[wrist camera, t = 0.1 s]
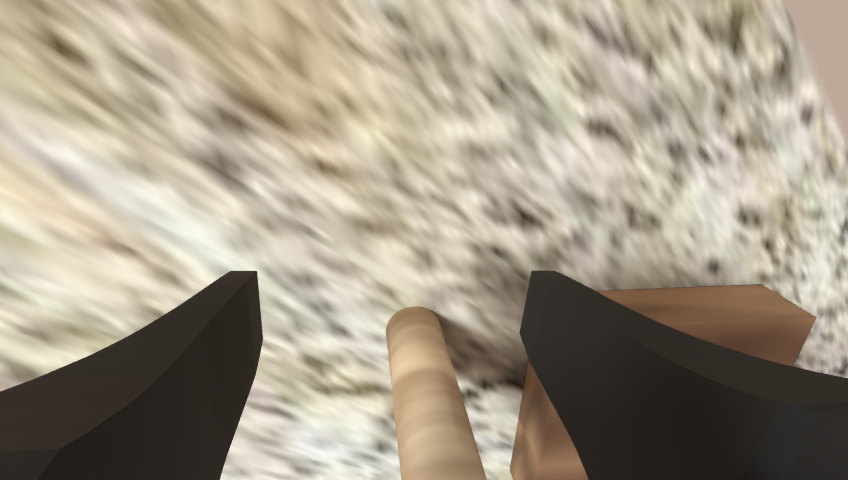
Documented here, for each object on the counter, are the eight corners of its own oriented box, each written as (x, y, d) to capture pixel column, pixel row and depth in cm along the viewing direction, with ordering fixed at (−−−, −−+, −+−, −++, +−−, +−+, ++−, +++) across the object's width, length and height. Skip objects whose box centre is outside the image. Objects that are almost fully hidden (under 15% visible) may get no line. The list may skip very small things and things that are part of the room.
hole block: (693, 451, 32) (730, 496, 29) (509, 470, 30) (527, 520, 27) (761, 284, 26) (816, 317, 23) (539, 293, 24) (567, 331, 21)
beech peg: (438, 350, 25) (485, 524, 16) (385, 353, 25) (403, 534, 16) (441, 305, 24) (494, 466, 15) (386, 308, 23) (405, 475, 14)
